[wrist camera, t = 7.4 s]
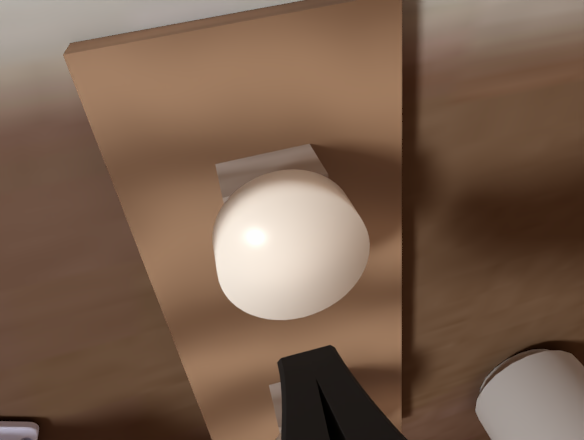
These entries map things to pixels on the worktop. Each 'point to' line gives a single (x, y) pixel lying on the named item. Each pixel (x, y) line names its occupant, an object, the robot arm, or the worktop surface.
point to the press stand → (251, 164)
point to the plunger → (288, 245)
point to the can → (534, 397)
